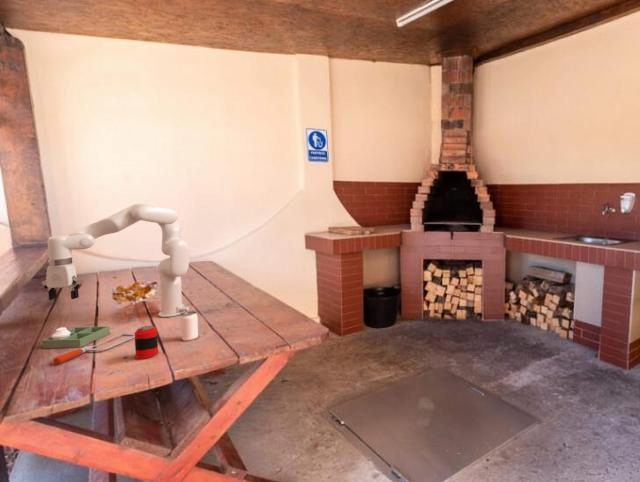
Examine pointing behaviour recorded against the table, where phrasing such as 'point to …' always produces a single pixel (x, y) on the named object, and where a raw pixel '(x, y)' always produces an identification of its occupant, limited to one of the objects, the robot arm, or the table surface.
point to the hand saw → (75, 353)
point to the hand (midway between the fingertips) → (64, 298)
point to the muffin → (61, 334)
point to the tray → (77, 337)
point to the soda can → (146, 342)
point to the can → (189, 326)
